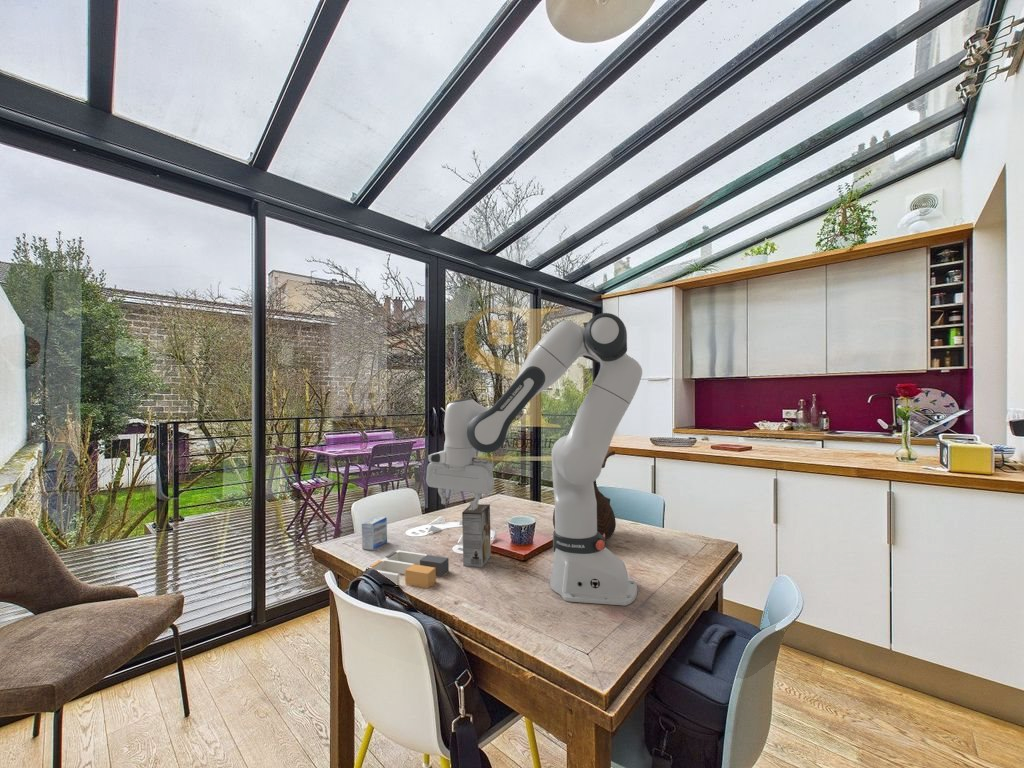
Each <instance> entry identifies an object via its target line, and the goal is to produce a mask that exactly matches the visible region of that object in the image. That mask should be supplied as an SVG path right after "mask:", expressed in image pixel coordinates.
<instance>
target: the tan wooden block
mask: <svg viewBox="0 0 1024 768" xmlns="http://www.w3.org/2000/svg"><path fill="white" fill-rule="evenodd" d="M404 575H405V576H404V579H405V585H407V586H413V587H419V588H425V589H429V588H430V587H431V586H432V585H434V584H435V583H436V581H437V580H436V579H437V576H436V568H435V567H428V566H422V565H417V564H413V565H412V566H410V567H409V568H407V569H406V570H405V574H404Z"/></svg>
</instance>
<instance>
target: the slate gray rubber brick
mask: <svg viewBox="0 0 1024 768" xmlns="http://www.w3.org/2000/svg"><path fill="white" fill-rule="evenodd" d="M420 565H422V566H428V567H435V568H436V577H437V578H438V577H439V578H442V577H444V576H445V575H446V574H447V573H448V572H449V571H450V570H449V557H445V556H438V555H433V554H432V555H431V554H427V555H426V556H425V557H424V558H422V559H421V560H420Z"/></svg>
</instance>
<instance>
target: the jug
mask: <svg viewBox="0 0 1024 768" xmlns="http://www.w3.org/2000/svg"><path fill="white" fill-rule="evenodd" d="M615 455H616V451H615V450H614V449H610V448H609V449H608V451H607V454H606V456H605V459H604V461H603V464H602V469H603V468H605V467H606V463H607V461H608V459H609V458H610V457H611V456H615ZM593 483H594V491H595V497H596V502H597V531H598V532H599V533H600V534H601V535H603V534H605V542H606V541H608V540H610V538H612V536H613V535H614V533H615V531H616V528H617V527H616V526H617V523H616V522H617V521H616V514H615V511H614V509H613V508H612V506H611V498H610V497H609V498H608V497H606V496H605V495H604V494H603V493H602V492H600V490H599V487H598V484H597V479H596V480H595V481H594V482H593ZM552 524H553V525H552V526H553V529H554V530H555V507H554V508H553V514H552Z"/></svg>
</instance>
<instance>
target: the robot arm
mask: <svg viewBox="0 0 1024 768" xmlns="http://www.w3.org/2000/svg"><path fill="white" fill-rule="evenodd" d="M627 352H628V333H627V327H626V325H625V323H624V321H623V320H622V319H621V318H620V317H618V316H617V315H616V314H613V313H609V312H603V313H599V314H596V315H594V316H593V317H592V318H590V319H589V320H588V322H587V323H586V326H585V327H582V326H580V325H579V324H577V322H574V321H572V320H571V321H570V320H562V321H560V322H559V323H557V324H556V325H554V327H552V328H550V330H549V331H547V332H546V334H545V335H544V336H542V338H540V340H539V341H538V342H537V343H536V344H535V345H534V347H533V348H532V349H531V351H530V353H529V354H528V355H527V357H526V358H525V360H524V362H523V364H522V366H521V368H520V370H519V372H518V374H517V376H516V378H515V380H514V381H513V383H512V384H511V385H510V386H509V388H508V389H507V390H506V391H505V392H504V393H502V394H503V395H502V396H501V397H500V398H499V399H498V400H497V401H496V402H495V403H494V404H493V405H492V406H491V407H490V408H488V407H486V406H484V405H482V404H480V403H478V402H476V401H475V400H474V398H468V397H467V398H461V399H456V400H451V402H449V403H448V404H447V405H446V406H445V407H446V408H445V413H444V427H443V432H444V435H445V436H444V437H445V440H444V444H443V449H442V450H439V451H438V452H434V453H431V454H428V458H427V459H428V462H429V463H428V465H427V468H426V478H425V479H426V480H425V481H426V484H427V486H428V488H429V487H430V488H435V489H437V493H438V495H439V497H440V499H441V501H440V502H441V505H448V504H450V501H449V500H450V496H447V494H446V491H447V490H452V491H458V492H465V493H466V492H467V493H473V497H474V499H473V500H471V501H470V502H469V506H470V505H471V506H470V508H473V509H476V508H478V504H479V501H480V499H481V498H482V496H483V495H488V494H490V493H492V492H493V491H494V489H495V482H494V475H493V472H494V465H493V463H492V462H491V461H490V459H488V458H479V457H476V456H477V453H476V452H477V451H478V452H480V453H481V452H482V453H493V452H495V451H498V449H500V448H501V447H502V445H503V444H504V442H505V440H506V438H507V437H508V434H509V432H510V426H511V424H512V423H513V421H515V419H516V418H517V416H519V414H520V413H521V412H522V411H523V410H524V408H525V407H526V406H527V405H528V404H529V403H530V402H531V400H532V399H533V398H535V397H536V396H537V395H539V394H540V393H542V392H543V391H545V390H546V389H548V388H549V387H551V386H552V385H553V384H555V383H556V382H558V380H560V378H562V376H563V375H564V374H565V373H566V372H567V371H568V370H569V368H570V367H572V365H573V364H574V362H575V361H576V360H577V361H578V359H579V358H582V357H583V358H584V359H587V360H590V361H593V362H594V363H597V364H599V365H600V367H599V370H598V374H597V375H596V377H595V379H594V381H593V382H592V384H591V386H590V388H589V389H588V391H587V393H586V395H585V397H584V398H583V399H582V402H581V404H580V405H579V407H578V409H577V411H576V415H575V418H574V420H573V423H572V425H571V428H570V430H569V432H568V434H566V435H562V436H561V437H560V438H558V439H557V440H556V442H555V443H554V444H553V446H552V448H551V471H552V475H551V476H552V487H553V488H552V489H553V497H554V498H553V501H554V508H555V529H554V530H553V535H552V548H553V552H554V553H553V554H554V555H553V556H554V557H553V565H552V566H553V567H552V570H551V571H552V572H551V576H550V580H549V587H550V588H551V589H552V591H554V592H555V593H557V594H559V595H560V597H561V598H562V599H563V600H564V601H566V602H568V603H569V602H573V603H583V604H584V603H586V604H597V605H598V604H599V605H600V604H601V605H612V606H628V605H630V604H632V603H633V602H634V601H635V600H636V599H637V596H638V595H637V594H638V585H637V582H636V580H635V579H633V578H631V577H629V574H628V569H627V567H626V565H625V562H624V561H623V560H622V559H621V558H619V557H618V556H617V555H615V554H614V553H613V552H612V551H611V550H610V549H608V548H607V547H606V541H605V534H603V535H601V534H600V533H599V532H598V531H597V502H596V497H595V491H594V483H593V482H594V481H595V480H596V481H597V479H598V478H599V476H600V474H601V472H602V469H603V468H602V464H603V461H604V459H605V456H606V454H607V451H608V449H610V446H611V443H612V440H613V437H614V435H615V433H616V430H617V428H618V426H619V424H620V423H621V421H622V419H623V417H624V416H625V414H626V412H627V410H628V408H629V407H630V404H631V403H632V401H633V399H634V397H635V395H636V392H637V390H638V388H639V386H640V382H641V380H642V376H643V368H642V366H641V365H640V363H639V362H638V361H637V360H636V359H634V358H633V357H631V356H629V355H628V354H627Z"/></svg>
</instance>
